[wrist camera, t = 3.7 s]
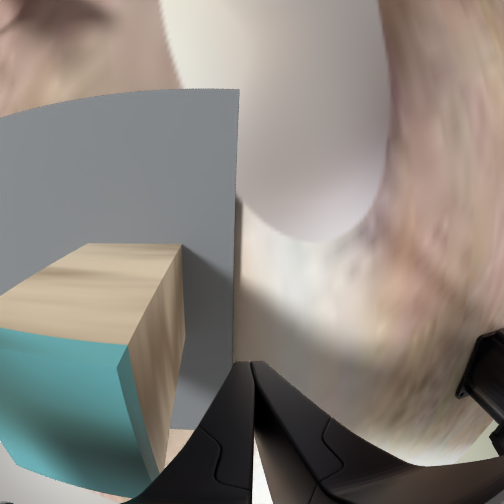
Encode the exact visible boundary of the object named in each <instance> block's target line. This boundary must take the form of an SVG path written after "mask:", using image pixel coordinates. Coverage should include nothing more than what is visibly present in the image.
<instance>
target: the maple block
mask: <svg viewBox="0 0 504 504" xmlns="http://www.w3.org/2000/svg"><path fill="white" fill-rule="evenodd" d="M185 337H186V335H185V318H184V299H183V272H182V244H121V243H88V244H86V245H84V246H82V247H80V248H79V249H77V250H75V251H73V252H71V253H70V254H68V255H66V256H64V257H63V258H61V259H59V260H57V261H56V262H54V263H52V264H51V265H49V266H47V267H46V268H44V269H42V270H41V271H39V272H37V273H36V274H34V275H32V276H31V277H29V278H27V279H26V280H24V281H23V282H21V283H19V284H18V285H16V286H15V287H13V288H12V289H10V290H8V291H7V292H5V293H4V294H2V295H1V296H0V441H1V442H2V444H3V446H4V447H5V449H6V450H7V451H8V453H9V454H10V456H11V457H12V459H13V460H14V462H15V463H16V464H17V465H18V466H20V467H23V468H25V469H28V470H30V471H33V472H36V473H38V474H41V475H44V476H46V477H49V478H52V479H55V480H58V481H61V482H65V483H68V484H72V485H75V486H78V487H82V488H86V489H90V490H94V491H98V492H102V493H107V494H112V495H117V496H122V497H128V498H135V497H136V496H138V495H139V494H140V493H142V492H143V491H144V490H145V489H146V488H147V487H148V486H149V485H150V484H151V483H152V482H153V481H154V480H155V478H156V477H157V476H158V475H159V474H160V473H161V472H162V471H163V470H164V466H165V459H166V451H167V444H168V437H169V430H170V424H171V417H172V411H173V405H174V398H175V392H176V386H177V381H178V375H179V369H180V364H181V358H182V353H183V347H184V342H185Z"/></svg>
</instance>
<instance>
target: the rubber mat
mask: <svg viewBox="0 0 504 504" xmlns="http://www.w3.org/2000/svg"><path fill="white" fill-rule="evenodd" d="M238 112H239V89H169V90H151V91H138V92H128V93H118V94H110V95H102V96H95V97H89V98H83V99H77V100H71V101H66V102H61V103H56V104H51V105H47V106H42V107H38V108H34V109H30V110H26V111H22V112H19V113H15V114H11V115H8V116H5V117H1V118H0V296H1V295H2V294H4V293H5V292H7V291H8V290H10V289H12V288H13V287H15V286H16V285H18V284H19V283H21V282H23V281H24V280H26V279H27V278H29V277H31V276H32V275H34V274H36V273H37V272H39V271H41V270H42V269H44V268H46V267H47V266H49V265H51V264H52V263H54V262H56V261H57V260H59V259H61V258H63V257H64V256H66V255H68V254H70V253H71V252H73V251H75V250H77V249H79V248H80V247H82V246H84V245H86V244H88V243H121V244H182V272H183V299H184V318H185V335H186V337H185V342H184V347H183V353H182V358H181V364H180V369H179V375H178V381H177V386H176V392H175V398H174V405H173V411H172V417H171V424H170V429H186V430H195V429H196V427H198V424H199V423H200V421H201V419H202V418H203V416H204V414H205V413H206V411H207V409H208V408H209V406H210V405H211V403H212V401H213V399H214V398H215V396H216V394H217V393H218V391H219V389H220V388H221V386H222V384H223V383H224V381H225V379H226V377H227V376H228V374H229V372H230V371H231V369H232V332H233V268H234V225H235V191H236V162H237V136H238V134H237V133H238Z"/></svg>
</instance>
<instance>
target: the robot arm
mask: <svg viewBox="0 0 504 504" xmlns="http://www.w3.org/2000/svg"><path fill="white" fill-rule="evenodd" d="M468 395H470V396H471V397H472V398H473V399H474V400H475V401H476V402H477V403H478V404H479V405H480V406H481V407H482V408H483V409H484V410H485V411H486V412H487V413H488V414H489V415H490V416H491V417H492V418H493V419H494V420H495V421H496V422H497V423H498V424H499V426H498V427H497V428H496V429H495V431H493V432H492V433H491V434H490V436H489V438H490V439H491V441H492V444H493V446H494V448H495V449H496V451H497V453H498V455H499V457H495V458H491V459H486V460H480V461H474V462H468V463H460V464H452V465H442V466H428V467H425V466H417V465H413V464H410V463H407V462H405V461H403V460H401V459H399V458H397V457H395V456H393V455H391V454H389V453H387V452H386V451H384V450H382V449H380V448H378V447H376V446H374V445H373V444H371V443H369V442H367V441H366V440H364V439H362V438H361V437H359V436H357V435H356V434H354V433H353V432H351V431H350V430H348V429H347V428H346V427H344V426H343V425H341V424H340V423H339V422H337V421H336V420H335V419H334V418H331V416H330V415H328V414H327V413H326V412H324V411H323V410H322V409H321V408H319V407H318V406H317V405H316V404H314V403H313V402H312V401H311V400H309V399H308V398H307V397H306V396H304V395H303V394H302V393H301V392H300V391H298V390H297V389H296V388H295V387H294V386H292V385H291V384H290V383H289V382H288V381H286V380H285V379H284V378H283V377H282V376H280V375H279V374H278V373H277V372H276V371H275V370H273V369H272V368H271V367H270V366H269V365H268V364H266V363H265V362H264V361H251V362H250V363H249V362H247V361H244V362H235V364H234V365H233V367H232V369H231V371H230V372H229V374H228V376H227V377H226V379H225V381H224V383H223V384H222V386H221V388H220V389H219V391H218V393H217V394H216V396H215V398H214V399H213V401H212V403H211V405H210V406H209V408H208V409H207V411H206V413H205V414H204V416H203V418H202V419H201V421H200V423H199V424H198V427H196V429H195V431H194V432H193V434H192V435H191V437H190V438H189V440H188V441H187V443H186V444H185V446H184V447H183V448H182V450H181V451H180V452H179V453H178V454H177V456H176V457H175V458H174V459H173V460H172V461H171V462H170V463H169V465H168V466H167V467H166V468H165V469H164V470H163V471H162V472H161V473H160V474H159V475H158V476H157V477H156V478H155V480H154V481H153V482H152V483H151V484H150V485H149V486H148V487H147V488H146V489H145V490H144V491H143V492H142V493H140V494H139V495H138V496H136V497H135V498H133V499H131V500H129V501H127V502H124V503H121V504H252V484H253V453H254V436H255V440H256V444H257V447H258V451H259V455H260V459H261V462H262V466H263V470H264V473H265V477H266V480H267V484H268V487H269V491H270V494H271V498H272V501H273V504H504V329H501V330H498V331H495V332H492V333H488V334H485V335H482V336H480V337H479V339H478V340H477V343H476V346H475V348H474V351H473V354H472V357H471V359H470V362H469V364H468V367H467V369H466V372H465V374H464V377H463V379H462V381H461V384H460V386H459V388H458V390H457V393H456V397H457V398H458V399H461V398H463V397H466V396H468ZM0 504H13V503H10V502H0Z"/></svg>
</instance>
